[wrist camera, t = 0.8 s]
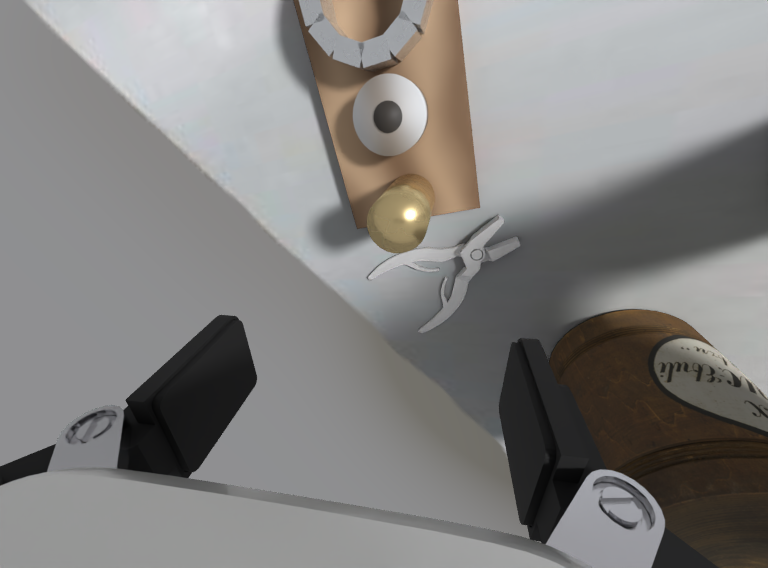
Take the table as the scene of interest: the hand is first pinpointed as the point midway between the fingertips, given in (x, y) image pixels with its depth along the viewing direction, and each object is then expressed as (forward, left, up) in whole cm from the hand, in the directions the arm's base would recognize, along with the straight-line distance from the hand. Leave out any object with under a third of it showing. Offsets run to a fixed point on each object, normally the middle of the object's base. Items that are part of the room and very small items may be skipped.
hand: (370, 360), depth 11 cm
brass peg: (+1, -1, -22) cm, 22 cm away
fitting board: (+1, -10, -24) cm, 25 cm away
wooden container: (-18, +22, -24) cm, 37 cm away
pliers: (-1, +8, -24) cm, 25 cm away
